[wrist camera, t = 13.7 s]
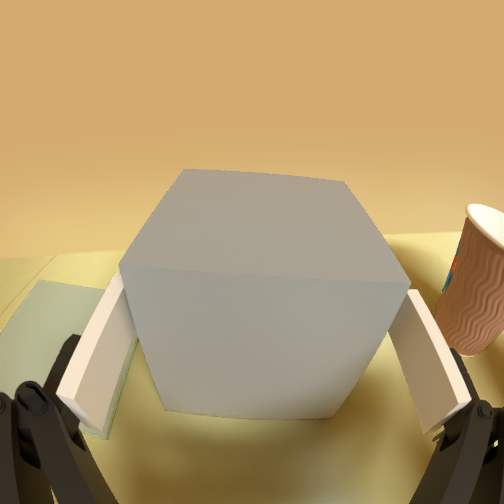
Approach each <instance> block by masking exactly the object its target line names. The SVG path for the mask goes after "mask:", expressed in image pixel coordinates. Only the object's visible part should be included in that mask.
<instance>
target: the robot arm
mask: <svg viewBox="0 0 504 504" xmlns="http://www.w3.org/2000/svg"><path fill="white" fill-rule="evenodd" d="M135 330H136V328H135V325H134V321H133V318H132V315H131V311H130V308H129V304H128V300H127V297H126V293H125V289H124V285H123V281H122V277H121V273H115V275H114V277H113V279H112V280H111V282H110V284H109V286H108V287H107V289H106V291H105V293H104V295H103V296H102V298H101V300H100V302H99V304H98V306H97V307H96V309H95V311H94V313H93V315H92V317H91V319H90V321H89V323H88V325H87V327H86V329H85V331H84V333H83V335H82V336H81V335H77V334H72V335H71V336H70V337H69V338H68V339H67V340H66V341H65V342H64V344H63V346H62V348H61V350H60V353H59V354H58V356H57V358H56V361H55V362H54V364H53V366H52V368H51V370H50V372H49V375H48V377H47V379H46V381H45V383H44V386H43V388H42V387H41V386H40V385H39V384H38V383H37V382H35V381H31V380H29V381H25V382H23V383H21V384H20V385H19V386H18V388H17V389H16V392H15V395H14V399H11V398H10V397H9V396H8V395H7V394H5V393H4V392H0V504H54V500H53V496H52V492H51V488H52V490H53V492H54V495H55V497H56V499H57V501H58V503H59V504H119V503H118V502H117V500H116V499H115V497H114V495H113V494H112V492H111V490H110V489H109V487H108V485H107V483H106V482H105V480H104V478H103V476H102V474H101V472H100V471H99V469H98V467H97V465H96V463H95V461H94V459H93V457H92V455H91V453H90V451H89V448H88V446H87V444H86V442H85V440H84V437H83V435H82V433H81V431H80V429H79V428H78V427H79V424H80V421H81V422H82V423H83V424H84V425H85V426H86V427H89V428H92V429H95V430H99V431H102V430H103V426H104V423H105V419H106V416H107V412H108V409H109V406H110V403H111V399H112V396H113V393H114V390H115V387H116V384H117V381H118V378H119V375H120V372H121V369H122V366H123V363H124V360H125V357H126V354H127V351H128V349H129V346H130V343H131V340H132V338H133V335H134V332H135ZM388 332H389V335H390V337H391V340H392V343H393V345H394V348H395V350H396V353H397V356H398V359H399V361H400V364H401V367H402V370H403V373H404V375H405V378H406V381H407V384H408V387H409V390H410V393H411V396H412V399H413V403H414V406H415V409H416V412H417V416H418V419H419V422H420V426H421V429H422V433H423V434H427V433H430V432H434V431H436V430H438V429H439V428H440V427H441V426H442V425H444V428H445V429H444V430H443V431H442V432H441V433H439V434H438V435H437V436H435V437H434V439H433V440H432V441H433V442H434V441H435V440H437V439H438V438H439V441H437V442H436V443H437V446H436V448H435V451H434V453H433V456H432V458H431V460H430V463H429V465H428V467H427V469H426V471H425V474H424V476H423V478H422V480H421V482H420V484H419V486H418V488H417V490H416V492H415V494H414V496H413V497H412V499H411V501H410V503H409V504H504V407H503V408H493V407H492V406H491V405H490V403H488V402H487V401H485V400H480V399H479V397H478V394H477V392H476V390H475V387H474V385H473V383H472V380H471V378H470V376H469V374H468V373H467V369H466V367H465V366H464V363H463V361H462V359H461V357H460V355H459V354H458V353H457V351H456V350H455V349H454V348H449V347H448V345H447V343H446V341H445V339H444V337H443V335H442V333H441V331H440V330H439V328H438V326H437V324H436V322H435V320H434V318H433V316H432V315H431V313H430V311H429V309H428V307H427V305H426V304H425V302H424V300H423V298H422V297H421V295H420V293H419V291H418V290H417V289H409V290H408V292H407V294H406V296H405V298H404V300H403V302H402V304H401V306H400V308H399V310H398V312H397V314H396V316H395V318H394V320H393V322H392V324H391V326H390V328H389V329H388ZM497 440H498V445H497V446H496V447H494V442H495V441H497ZM50 486H51V487H50Z"/></svg>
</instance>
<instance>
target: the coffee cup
mask: <svg viewBox="0 0 504 504" xmlns="http://www.w3.org/2000/svg"><path fill="white" fill-rule="evenodd" d="M466 214H467V216H468V217H467V218H466V220H465V224H464V228H463V231H462V235H461V238H460V242H459V245H458V248H457V251H456V255H455V257H454V260H453V263H452V266H451V269H450V272H449V274H448V277H447V280H446V283H445V285H444V288H443V290H442V295H441V298H440V300H439V303H438V305H437V308H436V313H435V315H434V320H435V322H436V324H437V326H438V328H439V330H440V331H441V333H442V335H443V337H444V339H445V341H446V343H447V345H448V347H449V348H454V349H455V350H456V351H457V353H458V354H459V355H460V356H462V357H474V356H476V355H478V354H479V353H480V352H481V351H483V350H484V349H485V348H487V347H488V346H489V345H490V344H491V343H492V342H493V340H494V339H495V338H496V337H497V336H498V335H499V334H500V333H501V332H502V331H503V330H504V214H503V213H502V212H499V211H497V210H495V209H493V208H490V207H487V206H484V205H480V204H469V205H467V207H466Z"/></svg>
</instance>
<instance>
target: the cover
mask: <svg viewBox="0 0 504 504" xmlns="http://www.w3.org/2000/svg"><path fill="white" fill-rule="evenodd" d="M119 269H120V273H121V277H122V281H123V285H124V289H125V293H126V297H127V300H128V304H129V308H130V311H131V315H132V318H133V321H134V325H135V328H136V331H137V335H138V338H139V341H140V344H141V347H142V350H143V353H144V356H145V359H146V362H147V364H148V367H149V370H150V373H151V375H152V378H153V381H154V383H155V386H156V389H157V391H158V394H159V396H160V399H161V401H162V404H163V406H164V408H165V410H167V411H174V412H180V413H188V414H196V415H205V416H215V417H227V418H242V419H269V420H295V419H322V418H333V417H334V415H335V414H336V413H337V411H338V410H339V408H340V407H341V406H342V404H343V403H344V401H345V400H346V398H347V397H348V395H349V394H350V392H351V391H352V389H353V388H354V386H355V385H356V383H357V382H358V380H359V379H360V377H361V376H362V374H363V372H364V371H365V369H366V368H367V366H368V364H369V363H370V361H371V359H372V358H373V356H374V354H375V353H376V351H377V349H378V347H379V346H380V344H381V342H382V340H383V339H384V337H385V335H386V333H387V331H388V329H389V328H390V326H391V324H392V322H393V320H394V318H395V316H396V314H397V312H398V310H399V308H400V306H401V304H402V302H403V300H404V298H405V296H406V294H407V292H408V290H409V288H410V285H411V283H412V282H411V281H410V279H409V277H408V276H407V274H406V272H405V271H404V269H403V267H402V266H401V264H400V263H399V261H398V259H397V258H396V256H395V255H394V253H393V251H392V250H391V248H390V247H389V245H388V244H387V242H386V241H385V239H384V237H383V236H382V234H381V233H380V231H379V230H378V229H377V227H376V226H375V224H374V223H373V221H372V220H371V219H370V217H369V216H368V214H367V213H366V211H365V210H364V208H363V207H362V206H361V204H360V203H359V202H358V200H357V199H356V197H355V196H354V195H353V193H352V192H351V191H350V189H349V188H348V187H347V185H346V184H345V183H344V182H342V181H334V180H326V179H318V178H309V177H299V176H290V175H278V174H267V173H254V172H239V171H221V170H195V169H184V170H183V171H182V173H181V174H180V175H179V177H178V178H177V179H176V181H175V182H174V183H173V185H172V186H171V187H170V189H169V190H168V191H167V193H166V194H165V195H164V197H163V198H162V200H161V201H160V203H159V204H158V205H157V207H156V208H155V210H154V211H153V212H152V214H151V216H150V217H149V218H148V220H147V221H146V223H145V224H144V226H143V227H142V229H141V230H140V231H139V233H138V235H137V236H136V238H135V239H134V241H133V242H132V244H131V245H130V247H129V248H128V250H127V251H126V253H125V255H124V256H123V258H122V259H121V261H120V263H119Z"/></svg>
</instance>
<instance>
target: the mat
mask: <svg viewBox="0 0 504 504" xmlns="http://www.w3.org/2000/svg"><path fill="white" fill-rule="evenodd" d="M105 291H106V290H104V289H97V288H89V287H82V286H76V285H69V284H62V283H56V282H50V281H44V280H39V281H38V282H37V283H36V285H35V286H34V287H33V289H32V290H31V291H30V293H29V294H28V295H27V297H26V298H25V299H24V301H23V302H22V304H21V305H20V306H19V308H18V309H17V311H16V312H15V314H14V315H13V316H12V318H11V319H10V321H9V322H8V324H7V326H6V327H5V329H4V330H3V332H2V333H1V335H0V392H4V393H5V394H7V395H8V396H9V397H10V398H11V399H14V395H15V392H16V389H17V388H18V386H19V385H20V384H21V383H23V382H25V381H29V380H31V381H35V382H37V383H38V384H39V385H40V386H41V387H42V388H43V386H44V383H45V381H46V379H47V377H48V375H49V372H50V370H51V368H52V366H53V364H54V362H55V361H56V358H57V356H58V354H59V353H60V350H61V348H62V346H63V344H64V342H65V341H66V340H67V339H68V338H69V337H70V336H71V335H72V334H77V335H81V336H82V335H83V333H84V331H85V329H86V327H87V325H88V323H89V321H90V319H91V317H92V315H93V313H94V311H95V309H96V307H97V306H98V304H99V302H100V300H101V298H102V296H103V295H104V293H105ZM138 340H139V338H138V335H137V331H136V330H135V332H134V335H133V338H132V340H131V343H130V346H129V349H128V351H127V354H126V357H125V360H124V363H123V366H122V369H121V372H120V375H119V378H118V381H117V384H116V387H115V390H114V393H113V396H112V399H111V403H110V406H109V409H108V412H107V416H106V419H105V423H104V426H103V430H102V431H99V430H95V429H92V428H89V427H86V426H85V425H84V424H83V423H82V422H81V421H80V424H79V427H78V428H79V429H80V431H81V432H83V433H86V434H89V435H92V436H95V437H98V438H101V439H105V440H107V439H108V435H109V431H110V428H111V424H112V421H113V417H114V414H115V410H116V407H117V404H118V400H119V397H120V394H121V391H122V388H123V384H124V381H125V378H126V375H127V372H128V369H129V366H130V363H131V360H132V357H133V354H134V351H135V349H136V346H137V343H138Z"/></svg>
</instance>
